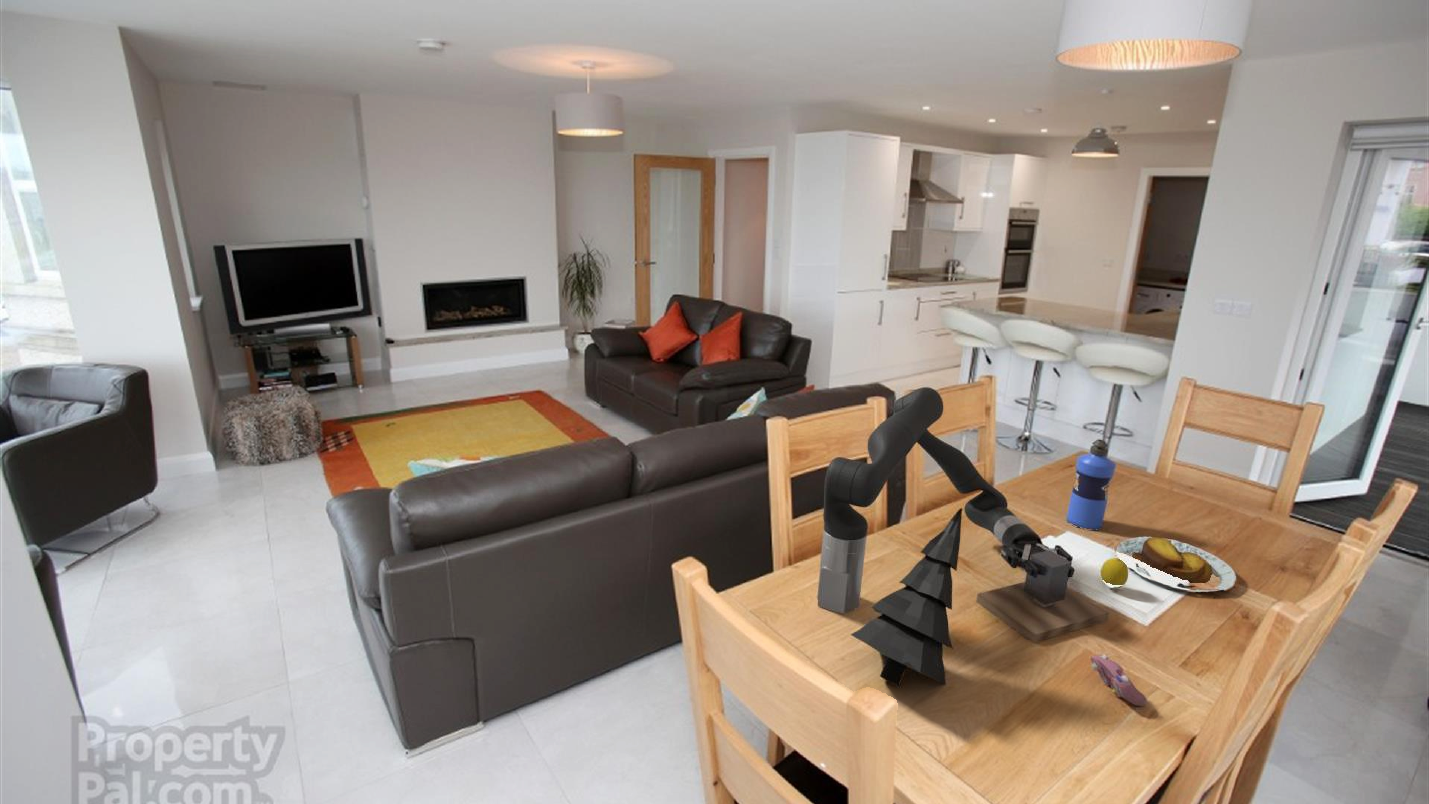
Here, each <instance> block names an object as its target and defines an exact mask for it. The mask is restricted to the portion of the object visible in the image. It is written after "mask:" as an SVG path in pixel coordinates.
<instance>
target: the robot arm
mask: <svg viewBox="0 0 1429 804" xmlns="http://www.w3.org/2000/svg"><path fill="white" fill-rule="evenodd" d="M943 412H944V402H943V398H942V396H941V394H940V393H939V392H938V391H937V390H936V389H933V388H932V387H929V386H927V387H926V386H924V387H919V388H916V389H915V390H913V391H911V392H909V393H907V394H905V395H903V396H901V397H899V398H898V399H896V400H895V402H894V403H893V413H894V414H892V415H891V416H889V417H888V418H887V419H885V420H883V421H882V422H881V423H879V425H878V426H877V427H876V428H875V429H874V430H873V431H872V433H871V434H870V435H869V438H868V440H867V451H868V455H869V458H870V460H871V462H872V463H867V462H863V461H859V460H855V459H851V458H847V457H843V456H842V457H841V456H838V457H835V458H833V459H832V460H830V462H829V464H828V466H827V469H826V472H825V477H824V478H825V479H824V487H823V488H824V490H823V492H824V493H823V497H824V498H823V516H822V517H823V531H822V541H821V543H822V544H821V554H820V564H819V573H818V574H819V577H818V586H817V595H816V596H817V597H816V598H817V606H818V607H821V608H824V609H826V610H829V611H831V612H832V611H833V612H835V613H838V614H840V615H845V614H846V613H848V612H852V611H855V610H857V608H858V607H859V606H860V600H861V593H862V592H861V590H862V581H863V573H864V563H865V555H866V547H867V545H866V544H867V536H868V527H869V526H868V525H869V523H868V520H867V518H865V516H863V514H862V513H860V512H858V511H857V510H856V509H854V508H853V506H854V507H858V508H868V507H870V506H871V505H873V504H874V502H875V501H876V499H878V497H879V495H880V494H881V492H882V490H883V489H884V487H885V485H886V484H887V482H888V480H889V478H890V477H891V475H892V474H893V473H894V472H895V470H896V468H897V467H898V466H899V465H900V463H902V461H903V460H904V459H905V458H906V457H907V456H908V454H909V453H910V452H911V451H912V449H913V448H914V446H915V445H916V444H918V445H919V446H920V448H922V449H923V450H924V451H925V453H927V454H928V455H929V456H930V457H931V458H932V459H933V460H934V461H935V463H937V465H938V467H940V469H941V471H943V472H944V474H945V475H946V477H947V478H948V480H949V481H950V482H951V484H952V485H953V486H954V488H955V490H956V491H958V493H959V494H961V495H966V494H971V493H973V492H976V491H981V492H980V493H979V494H977V495H975V496H974V497H973V498H971V499H969V500H968V501H967V502H966V503H965V505H964V513H965V515H966V518H967V519H968V520H969V521H970V522H972V523H973V524H974V525H975V526H978V527H980V528H983V529H985V530H987V531H990V533H992V535H994V537H995V538H996V539H997V541H998V542H999V544H1001V546H1002V548H1001V553H1000V556H1001V558H1002V559H1003V560H1004V561H1005V562H1006V563H1007V564H1008V565H1009V566H1010V567H1011V568H1012V569H1017V568H1020V569H1021V570H1023V571H1025V573H1026V574H1027V573H1028V574H1029V575H1030V576H1032V577H1033V578H1037V575H1038V569H1037V567H1036V566H1035V565H1034V564H1033V563H1032V562H1031V561H1029V559H1030V555H1032V554H1036V553H1040V552H1044V551H1048V550H1050V551H1052V552H1054V553H1055V554H1057V555H1059V556H1061V557H1062V558H1064V559H1066V560H1068V561H1070V562H1071V563H1073V556H1072V555H1071V554H1070V553H1069V552H1067V550H1065V549H1064V548H1063V547H1062V546H1061V545H1057V544H1055V545H1054V547H1053V548H1052V547H1051V548H1050V547H1049V546H1047V545H1045V544H1043V542H1042V539H1041V537H1040V535H1039V534H1038V533H1037V532H1035V530H1033V529H1032V528H1031V527H1030V526H1029V525H1028V524H1026V522H1024V521H1023V520H1022V519H1020V518H1018V516H1016V515H1015V514H1014V513H1013V512H1012V511H1011V510H1010V509H1008V500H1007V498H1006V496H1005V495H1004V494H1003V493H1002V492H1001V491H999V490H998V489H996V488H995V487H994V486H993V485H992V484H990V483H989V482H988V481H987V480H986V479H985V478H984V477H983V476H982V475H981V474H980V472H979V470H978V469H977V468H976V467H975V465H974V464H973V462H972V461H971V460H970V459H969V457H968V456H967V455H966V454H965V453H963V451H962V450H960V449H958V448H956V447H954V446H953V445H950V444H949V443H947V442H945V441H943V440H941V439H940V438H938V437H937V436H935V435H934V434H932V432H930V430H928V429H929V428H930V427H931V426H932V425H934V424H935V423H936V422H937V421H939V420H940V419H941V417H942V415H943ZM1075 570H1076V569H1075V568H1074V567H1073V566H1072V565H1071V569H1070V574H1069V579H1071V578H1073V577H1074V573H1075Z"/></svg>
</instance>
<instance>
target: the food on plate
mask: <svg viewBox="0 0 1429 804" xmlns="http://www.w3.org/2000/svg"><path fill="white" fill-rule="evenodd" d="M1114 551H1115V552H1116V551H1117V552H1119V553H1124V554H1127V555H1129V556H1131V555H1132V557H1133V558H1135V559H1138V560H1140V561H1141V562H1144V563H1146V564H1147V565H1150V567H1152V568H1156V569H1158V570H1160V571H1163V572H1165V573H1167V574H1170V575H1172V576H1173V577H1178V578H1180V579H1182V580H1188V581H1189V582H1190V583H1206V582H1208V581H1209V580H1210V578H1211V575H1212V574H1214V575H1215V576H1216V577H1219V578H1220V580H1221V582H1220V584H1219V586H1217V587H1214V589H1205V590H1198V589H1197V590H1188V591H1187V592H1189V593H1196V592H1198V593H1201V592H1203V593H1204V592H1206V593H1208V592H1217V591H1222V590H1223V591H1230V589H1233V588H1234V587H1235V588H1236V586H1237V584H1238V581H1239V580H1238V577H1237V574H1236V572H1235V570H1234V568H1233V567H1231V565H1229V564H1228V563H1227V562H1226V561H1225V560H1223V559H1221V558H1219V557H1218V556H1216V555H1215V554H1213V553H1211V552H1208V551H1205V550H1204V549H1203V548H1199V547H1196V546H1193V545H1191V544H1189V543H1187V542H1181V541H1179V540H1176V539H1169V538H1164V537H1157V536H1156V537H1155V536H1139V537H1129V538H1127V539H1124V540H1123V539H1122V541H1120V542H1118V543H1117V544H1116V546H1115V549H1114ZM1235 585H1236V586H1235Z"/></svg>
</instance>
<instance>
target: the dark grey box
mask: <svg viewBox="0 0 1429 804" xmlns="http://www.w3.org/2000/svg"><path fill="white" fill-rule="evenodd" d="M1029 561H1031V562H1032V563H1033V564H1034V565H1035V566H1036V567H1037V569H1038V575H1037V578H1033V577H1032V576H1030V575H1029V574H1028V573H1027V572H1026V576H1025V581H1024V582H1025V586H1024V592H1026V593H1028V594H1029V595H1031V596H1032V597H1034V598H1035V599H1037V600H1038V601H1040V602H1041V603H1043V604H1044V605H1047V604H1050V603H1054V602H1057V601H1061V600H1064V598H1065V594H1066V589H1067V587H1068V583H1069V579H1070V578H1069V574H1070V569H1071V566H1072V563H1073V562H1072V563H1071V562H1070V561H1068V560H1066V559H1064V558H1062V557H1061V556H1059V555H1057V554H1055V553H1054V552H1052V551H1050V550H1048V551H1044V552H1040V553H1036V554H1032V555H1030V559H1029Z"/></svg>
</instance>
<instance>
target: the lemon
mask: <svg viewBox="0 0 1429 804" xmlns="http://www.w3.org/2000/svg"><path fill="white" fill-rule="evenodd" d="M1100 578H1102V579H1101V581H1102V580H1104V581H1105V582H1106V583H1110V584H1112V585H1123V586H1124V585H1125V584H1126V583H1127V582H1128V581H1127V580H1128V578H1129V568H1128V567H1127V565H1126V564H1125V563H1124V562H1123V561H1122V560H1120V559H1119V557H1113V558H1109V559H1107V560H1106V561H1104V562H1103V564H1102V566H1101V570H1100Z"/></svg>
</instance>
